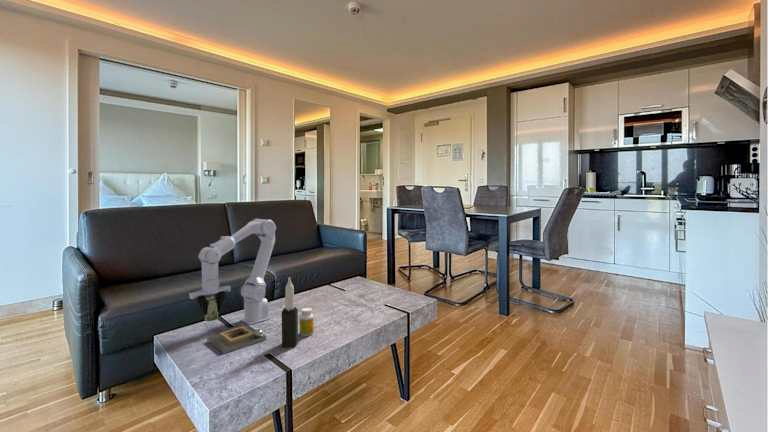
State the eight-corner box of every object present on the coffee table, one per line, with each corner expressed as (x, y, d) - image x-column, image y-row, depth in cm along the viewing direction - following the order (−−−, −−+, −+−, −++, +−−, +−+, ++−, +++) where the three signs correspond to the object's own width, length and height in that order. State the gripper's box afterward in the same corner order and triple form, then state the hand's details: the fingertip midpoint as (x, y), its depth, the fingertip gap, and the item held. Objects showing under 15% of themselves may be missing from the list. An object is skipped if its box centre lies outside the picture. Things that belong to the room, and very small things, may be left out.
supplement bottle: (299, 336, 133) (299, 312, 132) (299, 331, 138) (299, 307, 137) (314, 335, 134) (314, 311, 133) (313, 330, 139) (313, 306, 139)
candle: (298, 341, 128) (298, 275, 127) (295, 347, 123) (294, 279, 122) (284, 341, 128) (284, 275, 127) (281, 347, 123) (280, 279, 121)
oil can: (215, 315, 137) (214, 292, 137) (220, 318, 134) (219, 294, 134) (203, 319, 134) (202, 295, 133) (207, 322, 131) (206, 297, 130)
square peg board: (248, 329, 139) (248, 321, 139) (266, 339, 130) (266, 330, 129) (207, 341, 127) (206, 332, 127) (222, 354, 118) (222, 344, 118)
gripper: (193, 284, 125) (194, 320, 126) (233, 276, 135) (234, 310, 136) (187, 280, 130) (188, 315, 131) (226, 273, 140) (226, 306, 141)
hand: (211, 312), depth 134 cm, fingers closed on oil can, 5 cm apart
